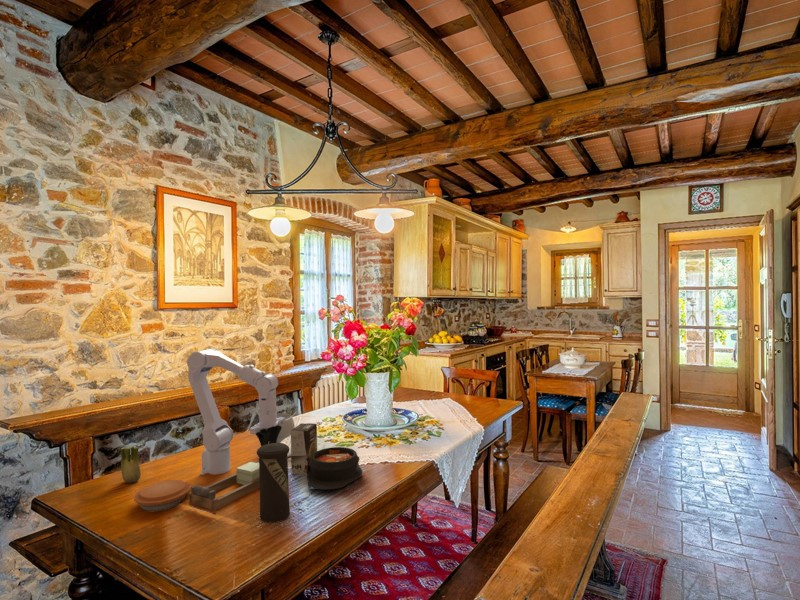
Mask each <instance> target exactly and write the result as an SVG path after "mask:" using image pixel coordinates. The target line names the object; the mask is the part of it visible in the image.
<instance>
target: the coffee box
mask: <svg viewBox="0 0 800 600" xmlns="http://www.w3.org/2000/svg"><path fill="white" fill-rule="evenodd" d="M290 450H291V456H290V458H291V459H290V463H291V464H290V466H291V468H290V469H291V474H292V475H303V476H304V475H306V476H307V474H308V472H309V471H310V470H311V466H310V465H309V461H310V460H311V458H312V455H313V454H314V453H315V452H317V451H318V427H317V423H307V422H306V423H303V422H302V423H299V424H298V425H296V426H295V428H294V429H292V430H291V435H290Z"/></svg>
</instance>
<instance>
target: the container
mask: <svg viewBox="0 0 800 600" xmlns="http://www.w3.org/2000/svg"><path fill="white" fill-rule="evenodd" d="M289 450H290V446H289V445H288V444H286V443H283V442H281V443H271V444H266V445H263V446H261V445H260V446H259V448H257V449H256V455H257V457H258V464H259V477H260V487H259V515H260V516H259V518H260V520H261V521H262V522H265V523H270V524H271V523H278V522H282V521H284V520H286V519H288V518H289V516H290V513H291V508H290V484H289V483H290V482H289V464H288V461H289V460H288V457H287V454H288V452H289Z"/></svg>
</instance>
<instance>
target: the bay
mask: <svg viewBox="0 0 800 600" xmlns="http://www.w3.org/2000/svg"><path fill="white" fill-rule="evenodd" d="M236 478H237V473H233V474H231V475H229V476H226V477H224V478H222V479H220V480H218V481H216V482H213V483H211V484H209V485H206V486H202V485H197V484H195V485H192V486H191V489H190V491H189V492H188V500H189V501H188V502H189V507H191V506H192V508H194V509H198V510H200V511H203V512H206V513H210V514H213V515H216V513H215V511H216V510H218V509H220V508H223V507H224V506H226V505H229V504H230V503H232V502H234V501H235V500H238V499H240V498H241V497H244V496H245V495H248V494H249V493H252V492H253V491H256V490H257V489H260V478H258V479H256V480H254V481H252V482H250V483H248V484H246V485H242V486H240V487H237V488H235V489H233V490H232V491H229V492H227V493H225V494H224V495H222V496H219V497H218V498H217V497H216V493H217V492H219V491H221V490H223V489H226V488H227V487H229V486H232V485H234V484H237V481H236ZM190 504H192V505H190ZM193 505H196V506H193ZM197 506H199V507H197ZM200 507H201V508H200ZM203 508H204V509H203ZM207 509H209V510H212V511H214V512H212V511H209V510H207Z"/></svg>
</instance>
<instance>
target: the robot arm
mask: <svg viewBox="0 0 800 600" xmlns="http://www.w3.org/2000/svg"><path fill="white" fill-rule="evenodd" d="M185 362H186V364H187V367H188V372H187V373H188V375H187V378H188V383H189V385H190V387H191V390H192V392H193V395H194V398H195V401H196V403H197V404H196V405H197V406H198V409H199V412H200V415H201V417H202V420H203V422H204V427H203V429H202V432H201V434H202V438H203V440H202V444H203V447H204V449H203V451H202V453H201V472H199V474H200V475H202V476H204V475H206V474H209V475H221V474H225V473H228V472H230V471H231V449H230V448H231V447H230V445H231V441H232V440H233V439H234V432H233V431H234V430H233V429H232V428H231V427H230V426H229V424H228V422H227V421H226V420H225V419H223V418H222V417H221V415H220V412H219V409H218V406H217V404H216V401H215V398H214V395H213V392H212V390H211V387H210V385H209V382H208V379H207V376H208V375H209V373H210V371H211V370H213V368H214V367H219V368H222V369H224V370H227V371H229V372H230V373H234V374H235V375H238V379H239V380H240V381H242V382H244V383H246V384H248V385H249V386H252V387H254V388H255V390H256V391H257V394H258V415H259V417H258V419H259V420H258V421H259V422H260V423H259V422H258V423H256V424H254V426H252V427H249V434H250V435H255V436H256V437H257V438H258V441H259V444H260V447H261V446H263V445H266V444H271V443H276V442H277V438H278V435H279V433H280V431H281V429H282V427H281V426H279V424H281V423H285V417H279V418H277V415H276V414H277V388H278V386H279V378H278V377H277V375H275V374H274V373H271V372H270V373H267V371H265V370H261V369H258V368H256V367H255V365H253V364H245V365H242V364H240V363H239V362H237V361H235V360H233V359H232V358H230V357H228V356H226V355H225V354H223V353H222V352H221V351H220V350H217V349H215V348H210V347H209V348H207V349H204V350H198V351H193V352H191V353H190V355H189V356H188V358H187V360H186V361H185ZM266 429H267V430H266Z"/></svg>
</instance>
